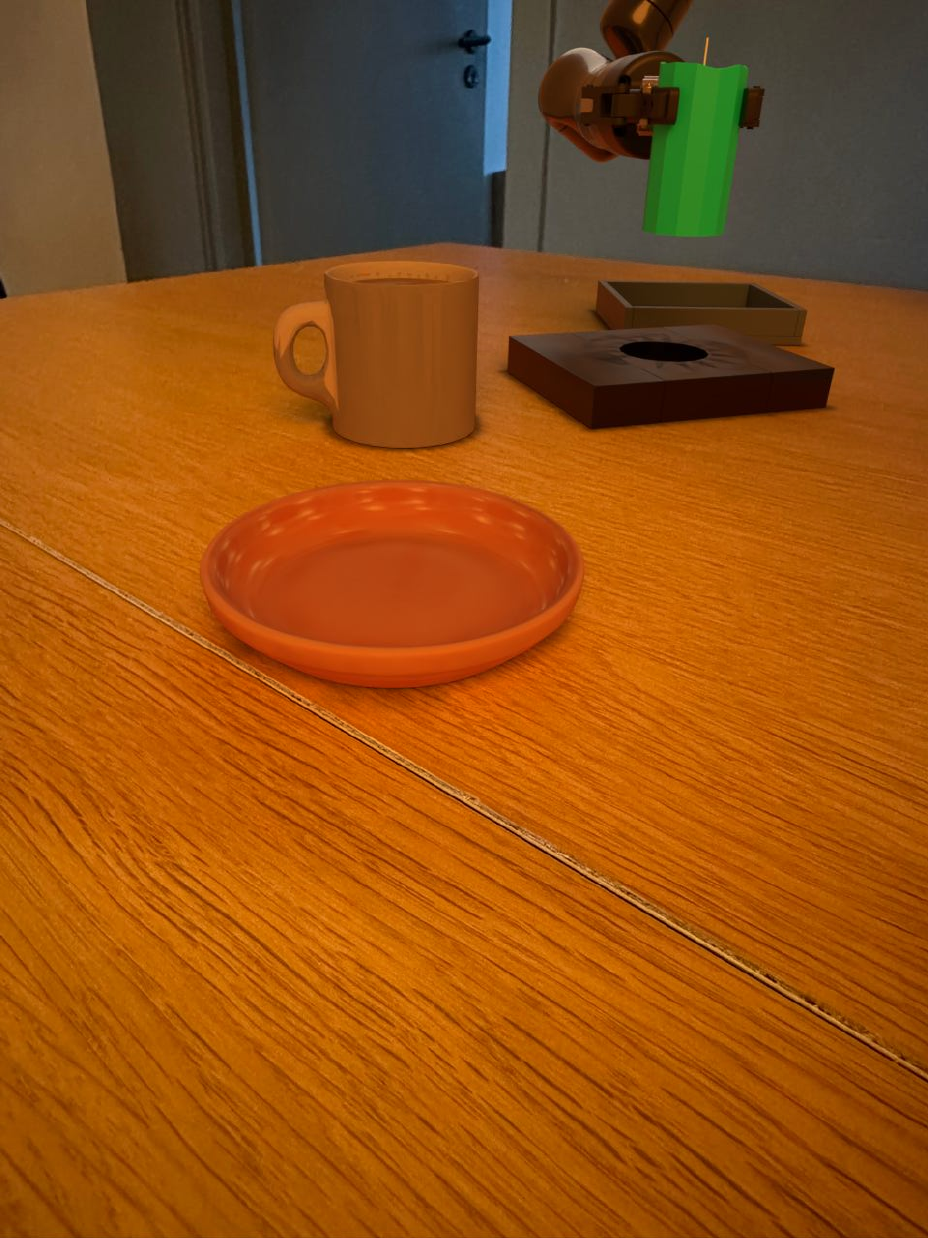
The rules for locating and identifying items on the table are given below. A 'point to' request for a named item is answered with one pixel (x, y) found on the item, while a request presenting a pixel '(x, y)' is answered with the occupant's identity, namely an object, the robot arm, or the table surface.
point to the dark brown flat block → (665, 374)
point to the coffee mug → (391, 351)
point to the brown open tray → (701, 308)
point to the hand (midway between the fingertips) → (712, 106)
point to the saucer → (392, 580)
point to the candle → (695, 151)
